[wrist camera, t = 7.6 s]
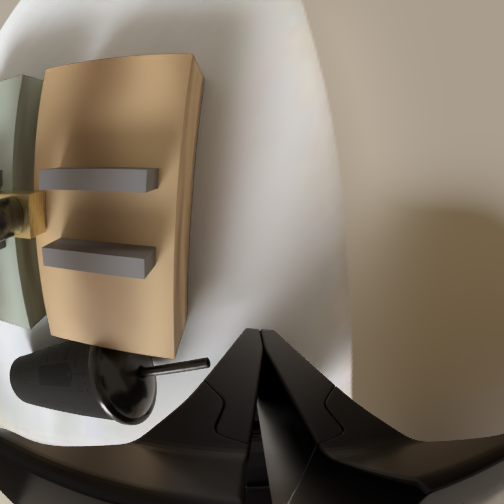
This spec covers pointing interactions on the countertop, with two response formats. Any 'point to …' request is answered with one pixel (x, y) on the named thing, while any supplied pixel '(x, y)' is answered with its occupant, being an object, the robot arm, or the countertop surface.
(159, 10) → the countertop surface
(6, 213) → the bolt
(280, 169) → the countertop surface
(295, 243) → the countertop surface
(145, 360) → the drinking cup
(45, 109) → the frame
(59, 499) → the robot arm
